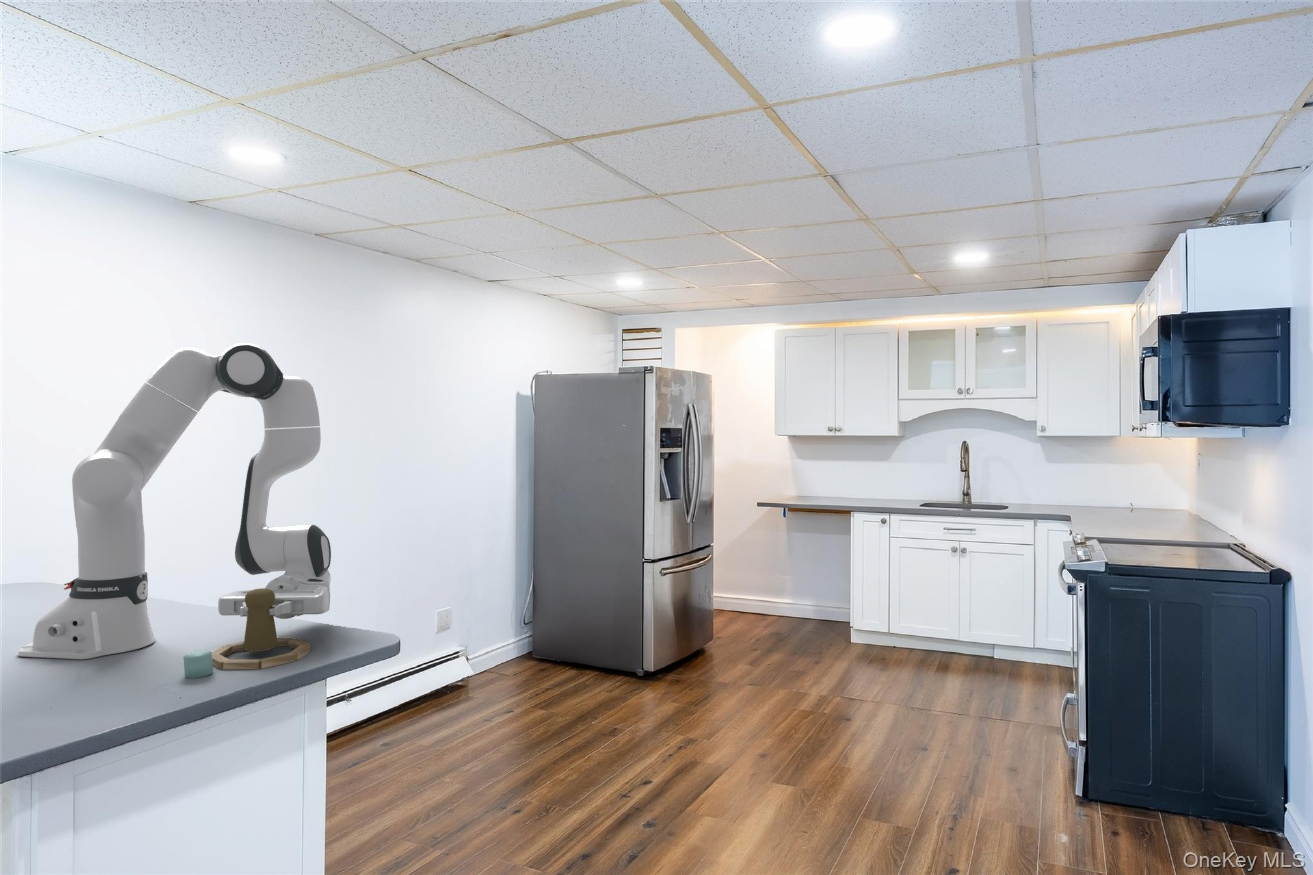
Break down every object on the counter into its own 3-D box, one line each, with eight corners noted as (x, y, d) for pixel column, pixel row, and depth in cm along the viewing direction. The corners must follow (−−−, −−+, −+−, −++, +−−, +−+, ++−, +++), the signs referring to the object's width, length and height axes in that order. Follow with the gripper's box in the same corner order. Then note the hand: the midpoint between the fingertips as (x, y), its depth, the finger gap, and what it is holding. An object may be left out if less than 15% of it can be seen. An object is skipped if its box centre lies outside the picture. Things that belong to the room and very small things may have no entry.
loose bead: (184, 680, 142) (183, 660, 142) (185, 672, 146) (183, 653, 146) (213, 675, 144) (211, 655, 144) (213, 667, 148) (211, 649, 148)
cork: (263, 652, 153) (262, 595, 152) (235, 649, 155) (234, 592, 154) (285, 642, 159) (284, 587, 158) (258, 639, 161) (257, 584, 160)
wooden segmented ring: (193, 669, 148) (193, 663, 148) (235, 644, 164) (235, 638, 164) (287, 668, 149) (287, 662, 149) (320, 643, 165) (320, 637, 165)
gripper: (235, 581, 169) (202, 596, 155) (336, 580, 170) (312, 595, 156) (236, 611, 169) (202, 629, 155) (337, 610, 170) (312, 628, 156)
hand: (258, 612), depth 155 cm, fingers closed on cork, 4 cm apart
